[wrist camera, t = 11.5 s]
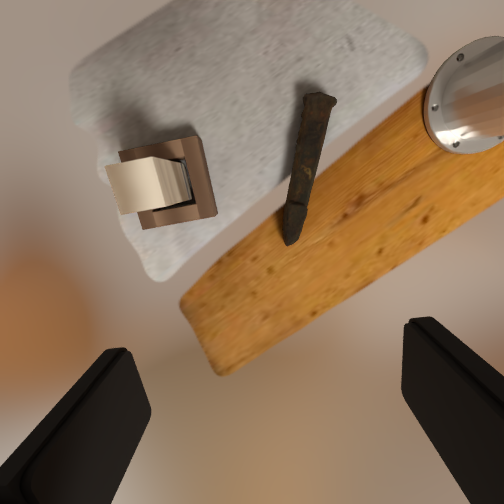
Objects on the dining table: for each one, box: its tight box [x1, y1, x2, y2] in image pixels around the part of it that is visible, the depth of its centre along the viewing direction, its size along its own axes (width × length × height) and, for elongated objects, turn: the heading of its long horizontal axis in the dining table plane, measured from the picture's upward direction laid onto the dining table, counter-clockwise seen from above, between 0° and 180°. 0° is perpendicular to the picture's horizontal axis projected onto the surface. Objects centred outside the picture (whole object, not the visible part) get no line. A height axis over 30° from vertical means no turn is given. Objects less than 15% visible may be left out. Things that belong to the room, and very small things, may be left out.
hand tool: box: [283, 92, 337, 246], centre depth 32 cm, size 19×4×5 cm, turn 167°
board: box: [118, 136, 218, 230], centre depth 33 cm, size 10×10×3 cm
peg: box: [105, 157, 192, 215], centre depth 28 cm, size 5×5×12 cm
